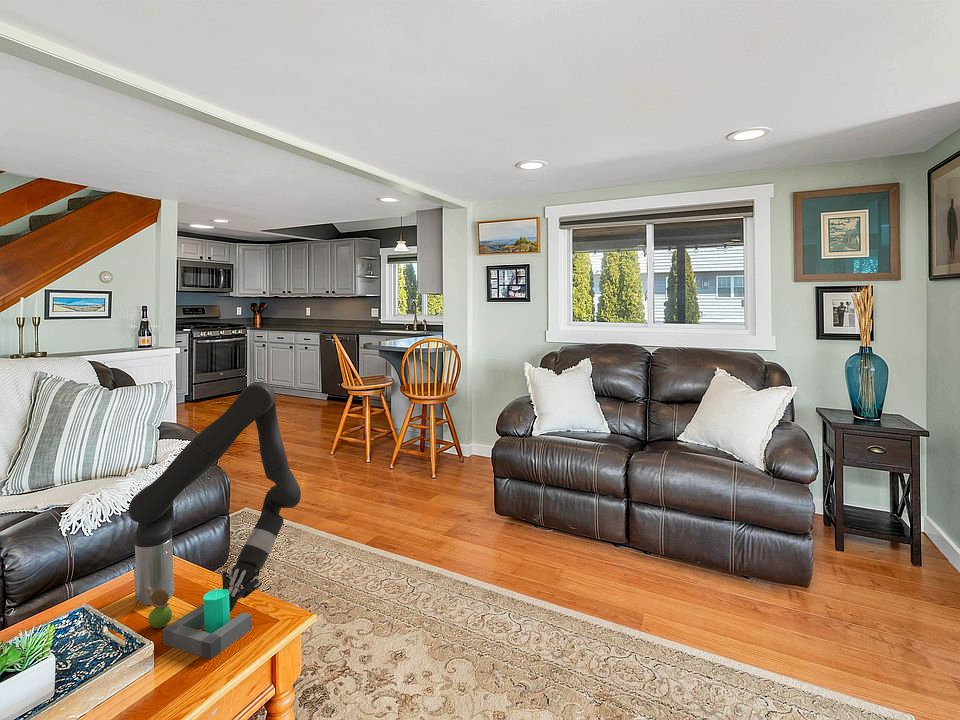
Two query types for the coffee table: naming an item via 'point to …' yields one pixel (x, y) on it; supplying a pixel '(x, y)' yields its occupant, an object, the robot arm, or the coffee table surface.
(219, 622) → the candle
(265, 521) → the robot arm
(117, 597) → the coffee table surface
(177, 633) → the grey u-shaped frame
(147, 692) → the coffee table surface
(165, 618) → the snail figurine
